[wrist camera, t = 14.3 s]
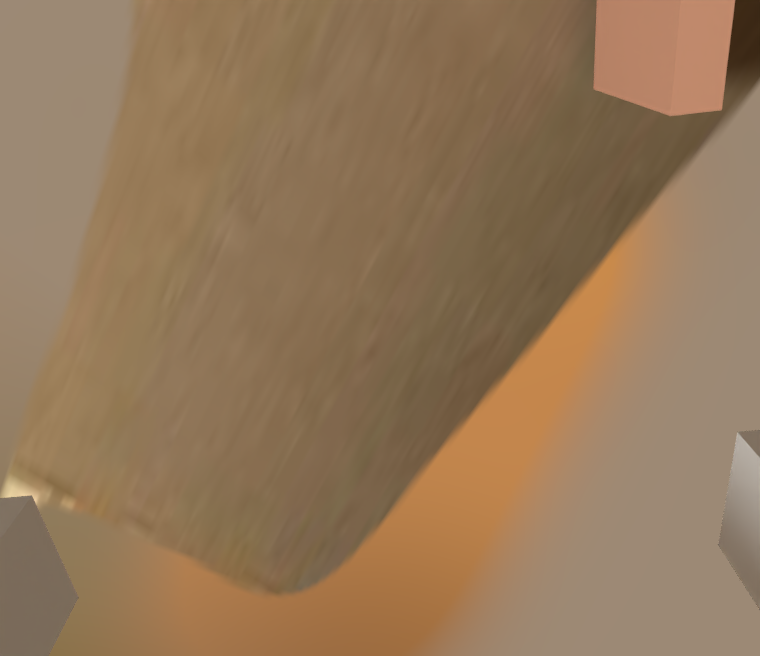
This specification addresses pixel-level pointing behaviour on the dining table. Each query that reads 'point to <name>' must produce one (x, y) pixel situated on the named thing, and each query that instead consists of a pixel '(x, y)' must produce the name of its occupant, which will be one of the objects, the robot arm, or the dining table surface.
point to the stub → (664, 53)
